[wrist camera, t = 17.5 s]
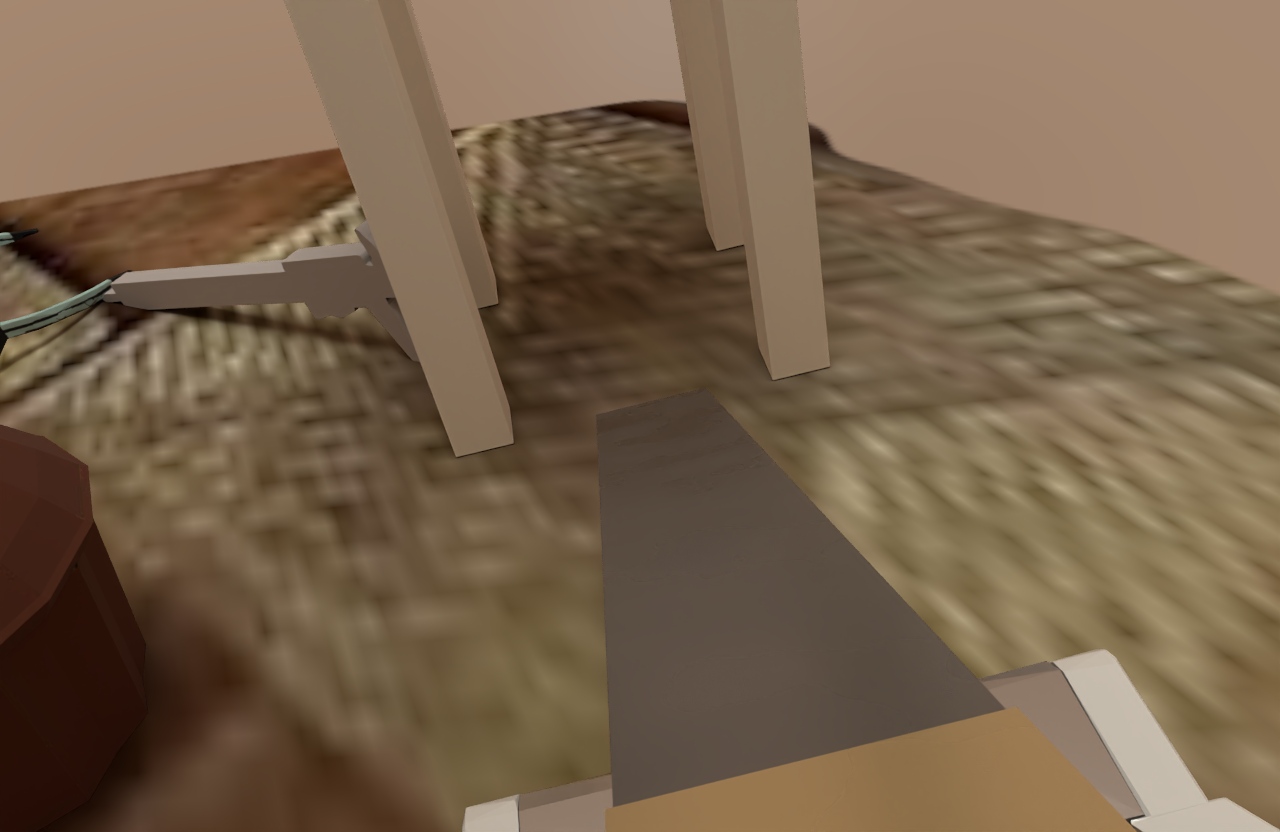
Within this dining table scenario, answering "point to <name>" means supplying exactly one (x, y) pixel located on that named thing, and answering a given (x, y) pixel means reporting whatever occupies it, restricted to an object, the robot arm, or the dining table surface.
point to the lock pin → (787, 662)
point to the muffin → (58, 639)
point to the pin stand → (445, 216)
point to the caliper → (279, 285)
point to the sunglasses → (53, 313)
